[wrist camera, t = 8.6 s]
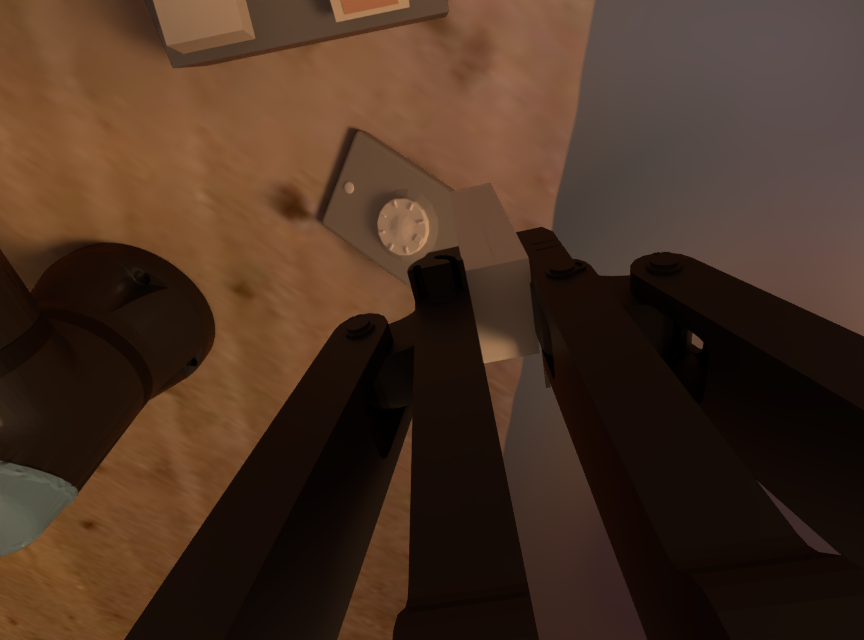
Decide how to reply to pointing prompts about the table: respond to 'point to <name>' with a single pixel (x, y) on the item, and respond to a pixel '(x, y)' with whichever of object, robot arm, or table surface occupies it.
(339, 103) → the table surface
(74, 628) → the table surface
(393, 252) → the light switch
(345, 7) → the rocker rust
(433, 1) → the console
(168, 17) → the rocker sage
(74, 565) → the table surface
